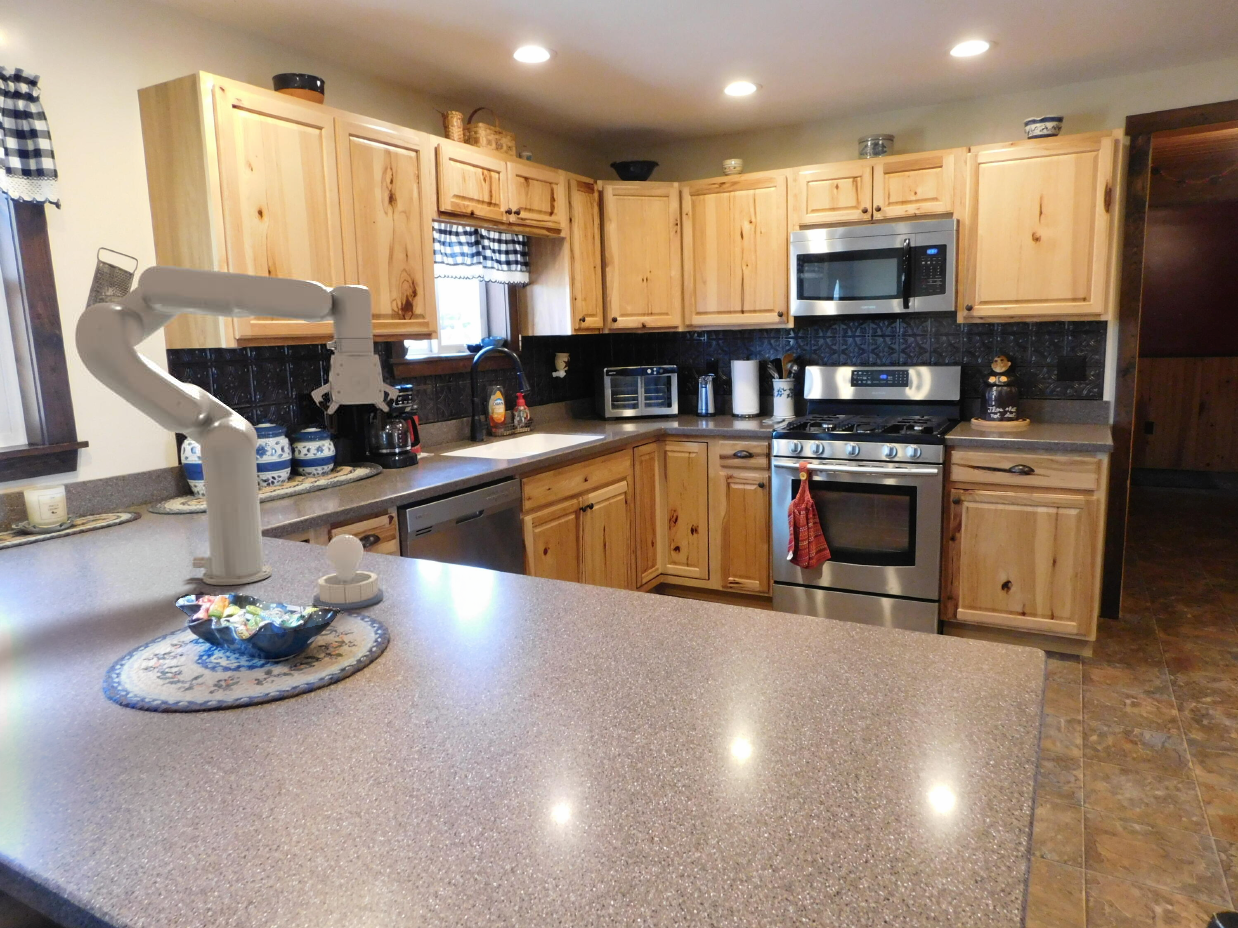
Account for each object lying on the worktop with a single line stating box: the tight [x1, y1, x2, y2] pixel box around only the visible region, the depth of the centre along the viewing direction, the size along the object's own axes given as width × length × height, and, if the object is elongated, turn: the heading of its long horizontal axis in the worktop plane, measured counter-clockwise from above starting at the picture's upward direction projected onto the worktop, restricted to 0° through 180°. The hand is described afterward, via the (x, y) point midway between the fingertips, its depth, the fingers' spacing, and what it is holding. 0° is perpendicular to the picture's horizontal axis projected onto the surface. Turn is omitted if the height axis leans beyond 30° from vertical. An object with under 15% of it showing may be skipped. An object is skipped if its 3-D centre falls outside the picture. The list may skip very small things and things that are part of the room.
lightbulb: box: [325, 533, 364, 585], centre depth 147 cm, size 6×6×11 cm
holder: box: [312, 570, 384, 611], centre depth 147 cm, size 12×12×4 cm
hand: (358, 431), depth 167 cm, fingers open, 9 cm apart
